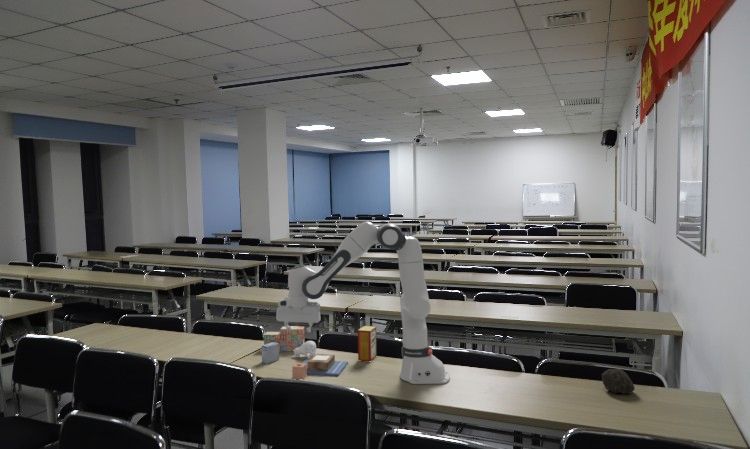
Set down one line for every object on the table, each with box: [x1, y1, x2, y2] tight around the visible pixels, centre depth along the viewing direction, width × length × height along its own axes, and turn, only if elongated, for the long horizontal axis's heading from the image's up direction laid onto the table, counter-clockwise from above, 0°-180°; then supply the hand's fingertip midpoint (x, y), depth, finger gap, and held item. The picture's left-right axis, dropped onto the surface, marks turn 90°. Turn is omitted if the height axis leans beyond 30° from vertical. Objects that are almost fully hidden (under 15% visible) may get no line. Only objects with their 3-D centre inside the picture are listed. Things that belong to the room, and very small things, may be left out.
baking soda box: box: [357, 325, 378, 362], centre depth 247 cm, size 10×6×16 cm
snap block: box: [291, 362, 308, 381], centre depth 220 cm, size 5×5×6 cm
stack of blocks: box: [263, 325, 306, 352], centre depth 265 cm, size 21×6×12 cm, turn 88°
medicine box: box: [261, 342, 280, 365], centre depth 245 cm, size 8×4×9 cm, turn 144°
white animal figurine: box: [293, 340, 317, 360], centre depth 251 cm, size 6×8×12 cm
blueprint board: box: [302, 353, 349, 377], centre depth 233 cm, size 22×18×5 cm
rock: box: [601, 368, 635, 395], centre depth 198 cm, size 10×11×10 cm
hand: (298, 331), depth 219 cm, fingers open, 8 cm apart
